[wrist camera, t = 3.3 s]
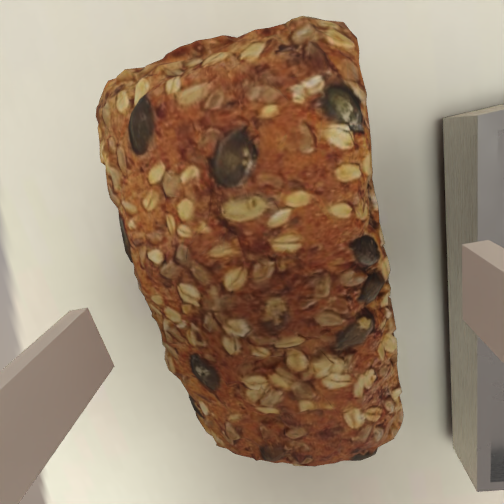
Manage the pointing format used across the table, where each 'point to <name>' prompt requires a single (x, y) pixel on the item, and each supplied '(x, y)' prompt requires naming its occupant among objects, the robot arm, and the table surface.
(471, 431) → the grey serving tray
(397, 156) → the table surface
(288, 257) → the bread
